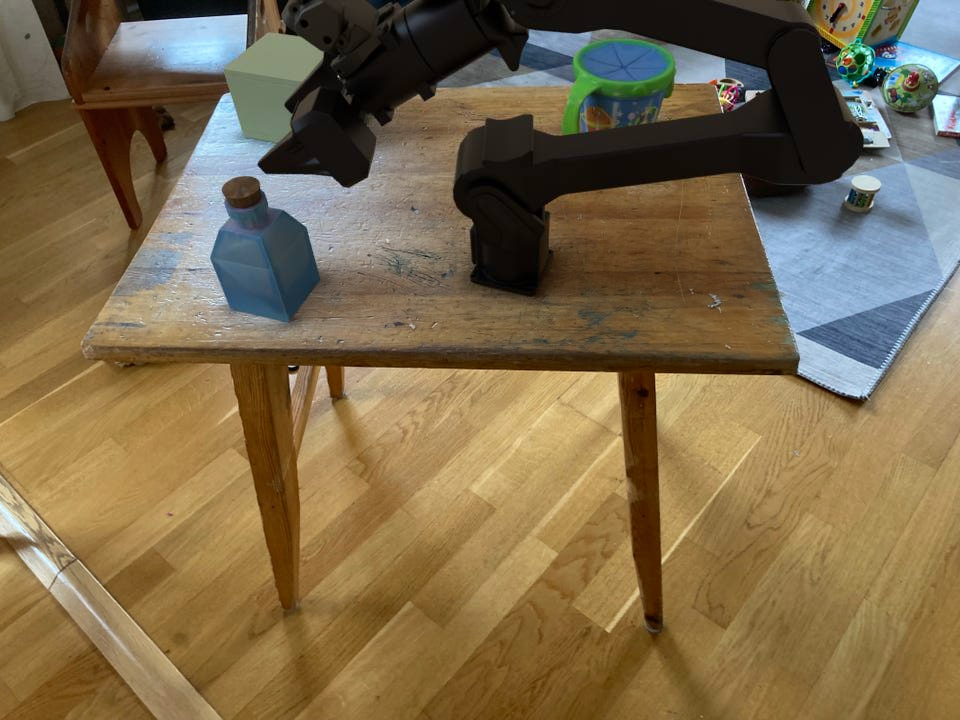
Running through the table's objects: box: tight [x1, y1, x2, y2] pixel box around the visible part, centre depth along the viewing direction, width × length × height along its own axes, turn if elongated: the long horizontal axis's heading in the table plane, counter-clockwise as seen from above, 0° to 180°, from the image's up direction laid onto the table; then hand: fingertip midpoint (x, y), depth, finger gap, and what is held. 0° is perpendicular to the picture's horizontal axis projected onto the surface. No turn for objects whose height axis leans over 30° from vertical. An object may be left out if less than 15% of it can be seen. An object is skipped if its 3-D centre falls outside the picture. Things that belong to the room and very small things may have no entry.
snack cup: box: [560, 38, 677, 135], centre depth 81 cm, size 16×10×10 cm
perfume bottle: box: [209, 175, 321, 324], centre depth 66 cm, size 6×6×12 cm
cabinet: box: [222, 31, 324, 144], centre depth 88 cm, size 12×10×9 cm
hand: (275, 137), depth 62 cm, fingers open, 9 cm apart
